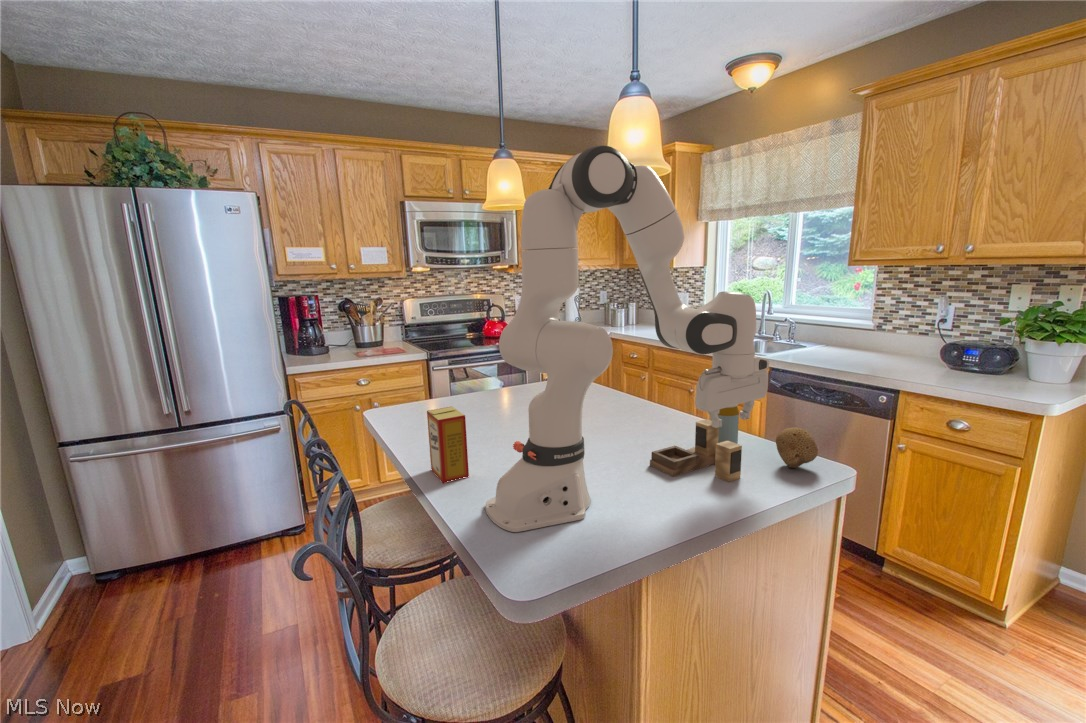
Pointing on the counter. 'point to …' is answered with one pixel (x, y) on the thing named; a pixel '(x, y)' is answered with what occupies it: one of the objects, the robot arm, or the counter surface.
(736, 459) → the block
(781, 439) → the natural sponge
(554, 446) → the robot arm
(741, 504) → the counter surface
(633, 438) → the counter surface
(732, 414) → the bottle
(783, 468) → the counter surface
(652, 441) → the counter surface
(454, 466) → the baking soda box
